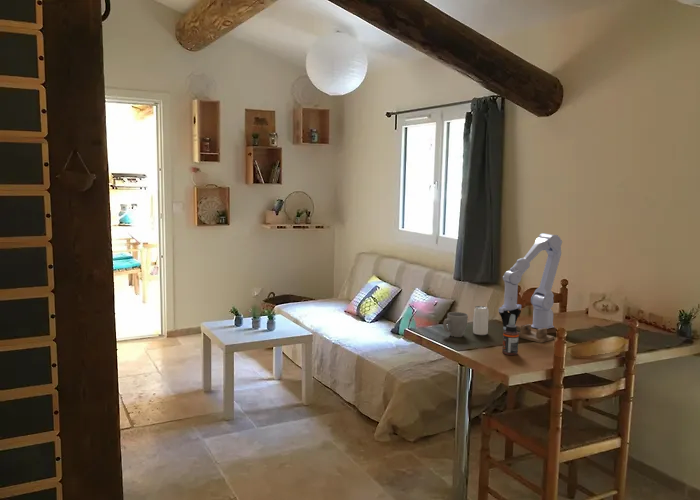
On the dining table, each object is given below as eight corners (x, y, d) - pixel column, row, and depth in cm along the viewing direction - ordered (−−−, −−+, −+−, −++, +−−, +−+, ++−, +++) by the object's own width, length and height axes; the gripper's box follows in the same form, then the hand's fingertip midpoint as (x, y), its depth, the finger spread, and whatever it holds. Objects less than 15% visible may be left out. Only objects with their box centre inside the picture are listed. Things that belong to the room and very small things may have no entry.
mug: (457, 332, 272) (458, 311, 271) (471, 336, 264) (472, 315, 263) (436, 335, 266) (437, 313, 265) (449, 340, 258) (450, 317, 257)
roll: (507, 327, 282) (508, 312, 281) (516, 329, 278) (517, 315, 277) (501, 329, 279) (501, 314, 278) (510, 331, 275) (511, 316, 274)
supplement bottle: (500, 351, 243) (501, 323, 241) (514, 351, 243) (516, 323, 242) (505, 355, 237) (506, 327, 235) (519, 355, 237) (521, 327, 236)
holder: (526, 332, 273) (526, 322, 273) (553, 339, 263) (554, 328, 262) (512, 335, 267) (513, 325, 267) (540, 342, 256) (541, 332, 256)
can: (487, 335, 266) (489, 309, 265) (472, 334, 268) (474, 308, 266) (487, 332, 273) (488, 306, 271) (472, 331, 274) (474, 305, 272)
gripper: (513, 293, 284) (511, 322, 286) (493, 297, 275) (492, 326, 277) (525, 296, 279) (524, 325, 280) (506, 299, 270) (505, 329, 271)
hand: (509, 325), depth 278 cm, fingers closed on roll, 5 cm apart
